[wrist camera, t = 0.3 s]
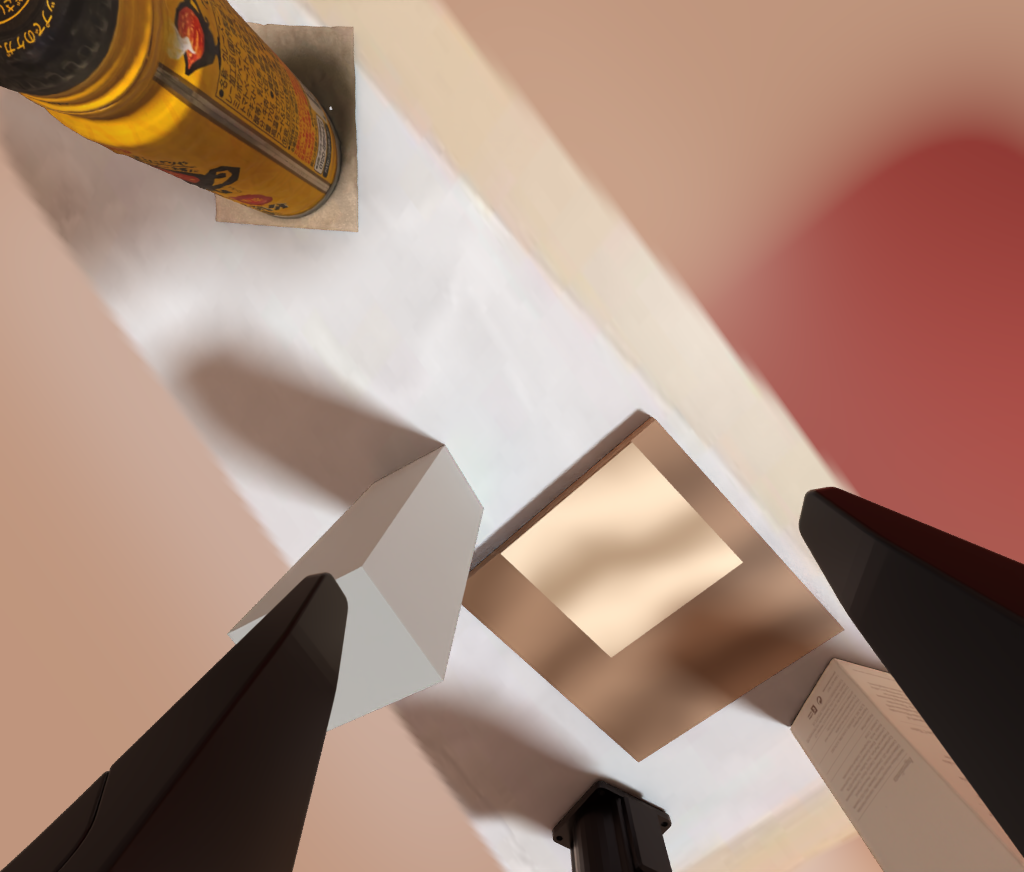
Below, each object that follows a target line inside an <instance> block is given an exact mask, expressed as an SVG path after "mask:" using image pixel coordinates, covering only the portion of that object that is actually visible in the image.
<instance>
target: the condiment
mask: <svg viewBox="0 0 1024 872" xmlns="http://www.w3.org/2000/svg"><path fill="white" fill-rule="evenodd" d="M353 51H354V37H353V27H332V28H330V27H312V26H287V25H274V24H267V25H261V24H257V23H250V22H245V21H244V20H243V18H242V17H241V16H240V15H239V14H238V13H237V12H236V11H235V10H234V9H233V8H232V7H231V5H230V4H229V3H228V1H226V0H0V86H2V87H5V88H7V89H11V90H13V91H16V92H18V93H20V94H22V95H23V96H25V97H26V98H28V99H29V100H31V101H33V102H34V103H36V104H38V105H40V106H42V107H44V108H45V109H46V110H47V111H48V112H49V113H50V114H51V115H52V116H54V117H55V118H56V119H58V120H59V121H60V122H61V123H62V124H64V125H65V126H66V127H68V128H70V129H71V130H73V131H75V132H76V133H78V134H80V135H81V136H83V137H85V138H87V139H89V140H91V141H94V142H97V143H99V144H101V145H103V146H105V147H107V148H108V149H110V150H112V151H113V152H115V153H117V154H123V155H127V156H129V157H132V158H134V159H136V160H138V161H140V162H143V163H146V164H148V165H150V166H152V167H155V168H158V169H160V170H162V171H165V172H167V173H169V174H172V175H174V176H176V177H178V178H181V179H183V180H184V181H186V182H188V183H190V184H193V185H197V186H199V187H200V188H203V189H206V190H208V191H211V192H213V193H215V197H216V211H217V217H216V221H218V222H230V223H240V224H254V225H266V226H278V227H293V228H306V229H321V230H337V231H351V232H358V187H357V142H356V123H355V68H354V53H353ZM330 106H332V110H329V107H330Z"/></svg>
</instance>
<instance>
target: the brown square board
mask: <svg viewBox="0 0 1024 872" xmlns="http://www.w3.org/2000/svg"><path fill="white" fill-rule="evenodd" d="M462 605H463V606H464V607H465V608H466V609H467V610H468V611H469V612H471V613H472V614H473V615H474V616H475V617H476V618H477V619H478V620H480V621H481V622H482V623H483V624H484V625H485V626H486V627H487V628H488V629H490V630H491V631H492V632H493V633H494V634H495V635H496V636H497V637H499V638H500V639H501V640H502V641H503V642H504V643H505V644H506V645H508V646H509V647H510V648H511V649H512V650H513V651H514V652H515V653H517V654H518V655H519V656H520V657H521V658H522V659H523V660H524V661H525V662H527V663H528V664H529V665H530V666H531V667H532V668H533V669H534V670H536V671H537V672H538V673H539V674H540V675H541V676H542V677H543V678H545V679H546V680H547V681H548V682H549V683H550V684H551V685H552V686H553V687H555V688H556V689H557V690H558V691H559V692H560V693H561V694H562V695H564V696H565V697H566V698H567V699H568V700H569V701H570V702H571V703H573V704H574V705H575V706H576V707H577V708H578V709H579V710H580V711H581V712H583V713H584V714H585V715H586V716H587V717H588V718H589V719H590V720H592V721H593V722H594V723H595V724H596V725H597V726H598V727H599V728H601V729H602V730H603V731H604V732H605V733H606V734H607V735H608V736H610V737H611V738H612V739H613V740H614V741H615V742H616V743H617V744H618V745H620V746H621V747H622V748H623V749H624V750H625V751H626V752H627V753H629V754H630V755H631V756H632V757H633V758H634V759H635V760H636V761H638V762H640V761H642V760H643V759H645V758H646V757H648V756H649V755H651V754H652V753H654V752H655V751H657V750H659V749H660V748H662V747H663V746H665V745H666V744H668V743H669V742H671V741H673V740H674V739H676V738H677V737H679V736H680V735H682V734H683V733H685V732H686V731H688V730H690V729H691V728H693V727H694V726H696V725H697V724H699V723H700V722H702V721H704V720H705V719H707V718H708V717H710V716H711V715H713V714H714V713H716V712H718V711H719V710H721V709H722V708H724V707H725V706H727V705H728V704H730V703H731V702H733V701H735V700H736V699H738V698H739V697H741V696H742V695H744V694H745V693H747V692H749V691H750V690H752V689H753V688H755V687H756V686H758V685H759V684H761V683H762V682H764V681H766V680H767V679H769V678H770V677H772V676H773V675H775V674H776V673H778V672H780V671H781V670H783V669H784V668H786V667H787V666H789V665H790V664H792V663H794V662H795V661H797V660H798V659H800V658H801V657H803V656H804V655H806V654H807V653H809V652H811V651H812V650H814V649H815V648H817V647H818V646H820V645H821V644H823V643H825V642H826V641H828V640H829V639H831V638H832V637H834V636H835V635H837V634H838V633H840V632H842V631H843V630H844V629H843V627H842V626H841V625H840V624H839V623H838V622H837V621H836V620H835V619H834V617H833V616H832V615H831V614H830V613H829V612H828V611H827V610H826V609H825V607H824V606H823V605H822V604H821V603H820V602H819V601H818V600H817V599H816V597H815V596H814V595H813V594H812V593H811V592H810V591H809V590H808V589H807V587H806V586H805V585H804V584H803V583H802V582H801V581H800V580H799V579H798V577H797V576H796V575H795V574H794V573H793V572H792V571H791V570H790V568H789V567H788V566H787V565H786V564H785V563H784V562H783V561H782V560H781V558H780V557H779V556H778V555H777V554H776V553H775V552H774V551H773V550H772V548H771V547H770V546H769V545H768V544H767V543H766V542H765V541H764V540H763V538H762V537H761V536H760V535H759V534H758V533H757V532H756V531H755V530H754V528H753V527H752V526H751V525H750V524H749V523H748V522H747V521H746V520H745V518H744V517H743V516H742V515H741V514H740V513H739V512H738V511H737V509H736V508H735V507H734V506H733V505H732V504H731V503H730V502H729V501H728V499H727V498H726V497H725V496H724V495H723V494H722V493H721V492H720V491H719V489H718V488H717V487H716V486H715V485H714V484H713V483H712V482H711V481H710V479H709V478H708V477H707V476H706V475H705V474H704V473H703V472H702V471H701V469H700V468H699V467H698V466H697V465H696V464H695V463H694V462H693V461H692V459H691V458H690V457H689V456H688V455H687V454H686V453H685V452H684V450H683V449H682V448H681V447H680V446H679V445H678V444H677V443H676V442H675V440H674V439H673V438H672V437H671V436H670V435H669V434H668V433H667V432H666V430H665V429H664V428H663V427H662V426H661V425H660V424H659V423H658V422H657V420H656V419H654V418H653V417H650V418H649V419H648V420H647V421H646V422H645V423H643V424H642V425H641V426H640V427H639V428H637V429H636V430H635V431H634V432H633V433H632V434H630V435H629V436H628V437H627V438H626V439H625V440H623V441H622V442H621V443H620V444H619V445H618V446H616V447H615V448H614V449H613V450H612V451H611V452H609V453H608V454H607V455H606V456H605V457H604V458H602V459H601V460H600V461H599V462H598V463H597V464H595V465H594V466H593V467H592V468H591V469H589V470H588V471H587V472H586V473H585V474H584V475H582V476H581V477H580V478H579V479H578V480H577V481H575V482H574V483H573V484H572V485H571V486H570V487H568V488H567V489H566V490H565V491H564V492H563V493H561V494H560V495H559V496H558V497H557V498H556V499H554V500H553V501H552V502H551V503H550V504H549V505H547V506H546V507H545V508H544V509H543V510H541V511H540V512H539V513H538V514H537V515H536V516H534V517H533V518H532V519H531V520H530V521H529V522H527V523H526V524H525V525H524V526H523V527H522V528H520V529H519V530H518V531H517V532H516V533H515V534H513V535H512V536H511V537H510V538H509V539H508V540H506V541H505V542H504V543H503V544H502V545H500V546H499V547H498V548H497V549H496V550H495V551H493V552H492V553H491V554H490V555H489V556H488V557H486V558H485V559H484V560H483V561H482V562H481V563H479V564H478V565H477V566H476V567H475V568H474V569H472V570H471V571H470V572H469V574H468V578H467V582H466V587H465V591H464V595H463V599H462Z"/></svg>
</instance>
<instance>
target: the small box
mask: <svg viewBox="0 0 1024 872" xmlns="http://www.w3.org/2000/svg"><path fill="white" fill-rule="evenodd" d="M790 730H791V732H792V733H793V735H794V736H795V738H796V739H797V741H798V742H799V744H800V746H801V747H802V749H803V750H804V752H805V753H806V755H807V756H808V758H809V759H810V761H811V762H812V764H813V765H814V767H815V768H816V770H817V771H818V773H819V774H820V776H821V777H822V779H823V780H824V782H825V783H826V785H827V786H828V788H829V789H830V791H831V793H832V794H833V796H834V797H835V799H836V800H837V802H838V803H839V805H840V806H841V808H842V809H843V811H844V812H845V814H846V815H847V817H848V818H849V820H850V821H851V823H852V824H853V826H854V827H855V829H856V830H857V832H858V833H859V835H860V836H861V838H862V839H863V841H864V842H865V844H866V845H867V847H868V849H869V850H870V852H871V853H872V855H873V856H874V858H875V859H876V861H877V862H878V864H879V865H880V867H881V869H882V870H883V871H884V872H1024V858H1023V857H1022V855H1021V854H1020V852H1019V851H1018V850H1017V848H1016V847H1015V845H1014V844H1013V843H1012V841H1011V840H1010V839H1009V837H1008V836H1007V834H1006V833H1005V832H1004V830H1003V829H1002V828H1001V826H1000V825H999V823H998V822H997V821H996V819H995V818H994V816H993V815H992V814H991V812H990V811H989V810H988V808H987V807H986V805H985V804H984V803H983V801H982V800H981V798H980V797H979V796H978V794H977V793H976V792H975V790H974V789H973V787H972V786H971V785H970V783H969V782H968V781H967V779H966V778H965V776H964V775H963V774H962V772H961V771H960V769H959V768H958V767H957V765H956V764H955V763H954V761H953V760H952V758H951V757H950V756H949V754H948V753H947V752H946V750H945V749H944V747H943V746H942V745H941V743H940V742H939V740H938V739H937V738H936V736H935V735H934V734H933V732H932V731H931V729H930V728H929V727H928V725H927V724H926V722H925V721H924V720H923V718H922V717H921V716H920V714H919V713H918V711H917V710H916V709H915V707H914V706H913V705H912V703H911V702H910V700H909V699H908V698H907V696H906V695H905V693H904V692H903V691H902V689H901V688H900V687H899V685H898V684H897V682H896V681H895V680H894V678H893V677H892V676H891V674H890V673H886V672H883V671H879V670H875V669H872V668H868V667H864V666H861V665H857V664H853V663H850V662H846V661H843V660H839V659H836V658H833V659H832V660H831V662H830V663H829V665H828V666H827V668H826V669H825V671H824V673H823V674H822V676H821V677H820V679H819V681H818V682H817V684H816V686H815V687H814V689H813V691H812V692H811V694H810V695H809V697H808V699H807V700H806V702H805V704H804V705H803V707H802V709H801V710H800V712H799V714H798V716H797V717H796V719H795V721H794V723H793V724H792V726H791V728H790Z"/></svg>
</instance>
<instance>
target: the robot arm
mask: <svg viewBox="0 0 1024 872" xmlns="http://www.w3.org/2000/svg"><path fill="white" fill-rule="evenodd" d="M799 530H800V533H801V536H802V538H803V539H804V541H805V543H806V545H807V546H808V548H809V550H810V551H811V553H812V555H813V557H814V558H815V560H816V562H817V563H818V565H819V567H820V569H821V570H822V572H823V574H824V575H825V577H826V579H827V581H828V582H829V584H830V586H831V587H832V589H833V591H834V593H835V594H836V596H837V598H838V600H839V601H840V603H841V604H842V606H843V608H844V609H845V611H846V612H847V614H848V616H849V617H850V618H851V620H852V621H853V623H854V624H855V626H856V627H857V629H858V630H859V631H860V633H861V634H862V635H863V637H864V638H865V640H866V641H867V642H868V644H869V645H870V646H871V648H872V649H873V651H874V652H875V653H876V655H877V656H878V658H879V659H880V660H881V662H882V663H883V664H884V666H885V667H886V669H887V670H888V671H889V673H890V674H891V676H892V677H893V678H894V680H895V681H896V682H897V684H898V685H899V687H900V688H901V689H902V691H903V692H904V693H905V695H906V696H907V698H908V699H909V700H910V702H911V703H912V705H913V706H914V707H915V709H916V710H917V711H918V713H919V714H920V716H921V717H922V718H923V720H924V721H925V722H926V724H927V725H928V727H929V728H930V729H931V731H932V732H933V734H934V735H935V736H936V738H937V739H938V740H939V742H940V743H941V745H942V746H943V747H944V749H945V750H946V752H947V753H948V754H949V756H950V757H951V758H952V760H953V761H954V763H955V764H956V765H957V767H958V768H959V769H960V771H961V772H962V774H963V775H964V776H965V778H966V779H967V781H968V782H969V783H970V785H971V786H972V787H973V789H974V790H975V792H976V793H977V794H978V796H979V797H980V798H981V800H982V801H983V803H984V804H985V805H986V807H987V808H988V810H989V811H990V812H991V814H992V815H993V816H994V818H995V819H996V821H997V822H998V823H999V825H1000V826H1001V828H1002V829H1003V830H1004V832H1005V833H1006V834H1007V836H1008V837H1009V839H1010V840H1011V841H1012V843H1013V844H1014V845H1015V847H1016V848H1017V850H1018V851H1019V852H1020V854H1021V855H1022V857H1023V858H1024V564H1022V563H1019V562H1017V561H1015V560H1012V559H1009V558H1007V557H1005V556H1002V555H1000V554H997V553H995V552H992V551H990V550H988V549H985V548H983V547H980V546H978V545H976V544H973V543H971V542H968V541H966V540H963V539H961V538H958V537H956V536H954V535H951V534H949V533H946V532H944V531H941V530H939V529H936V528H934V527H932V526H929V525H927V524H924V523H921V522H919V521H917V520H914V519H912V518H910V517H907V516H905V515H902V514H900V513H897V512H895V511H892V510H890V509H888V508H885V507H883V506H880V505H878V504H876V503H873V502H871V501H868V500H866V499H863V498H861V497H858V496H856V495H854V494H851V493H849V492H846V491H844V490H841V489H839V488H836V487H825V488H819V489H813V490H810V491H808V492H807V493H806V494H805V497H804V502H803V506H802V511H801V515H800V519H799ZM347 614H348V601H347V598H346V596H345V594H344V593H343V591H342V590H341V588H340V586H339V585H338V583H337V582H336V580H335V579H334V577H333V576H332V574H330V573H328V572H323V573H317V574H311V575H308V576H306V577H305V578H304V579H303V580H302V581H300V582H299V583H298V584H297V585H296V586H295V587H294V588H293V589H292V590H291V591H290V592H289V593H288V594H287V595H286V596H285V597H284V598H283V599H282V600H281V601H280V602H279V603H278V604H277V605H276V606H275V607H274V608H273V609H272V610H271V611H270V612H269V613H268V614H267V615H266V616H265V617H264V618H263V619H262V620H261V621H259V622H258V623H257V624H256V625H255V626H254V627H253V628H252V629H251V630H250V631H249V632H248V633H247V634H246V635H245V636H244V637H243V638H242V639H241V640H240V641H239V642H238V643H237V644H236V645H235V646H234V647H233V648H232V649H231V650H230V651H229V652H228V653H227V654H226V655H225V656H224V657H223V658H222V659H221V660H220V661H219V662H217V663H216V664H215V665H214V666H213V668H211V669H210V670H209V671H208V672H207V673H206V674H205V675H204V676H203V677H202V678H201V679H200V680H199V681H198V682H197V683H196V684H195V685H194V686H193V687H192V688H191V689H190V690H189V691H188V692H187V693H186V694H185V695H184V696H183V697H182V698H181V699H180V700H178V701H177V702H176V703H175V704H174V705H173V706H172V707H171V708H170V709H169V710H168V711H167V712H166V713H165V714H164V715H163V716H162V717H161V718H160V719H159V720H158V721H157V722H156V723H155V724H154V725H153V726H152V727H151V728H150V729H149V730H148V731H147V732H146V733H145V734H144V735H143V736H142V737H141V738H139V739H138V741H136V742H135V743H134V744H133V746H131V747H130V748H129V749H128V750H127V751H126V752H125V753H124V754H123V755H122V756H121V757H120V758H119V759H118V760H117V761H116V762H115V763H114V764H113V765H112V766H111V768H110V771H107V772H105V773H104V774H102V776H100V777H99V778H98V779H97V780H96V781H95V782H94V783H93V784H92V785H91V786H90V787H89V788H88V789H87V790H86V791H85V792H84V793H83V794H82V795H81V796H80V797H79V798H78V799H77V800H76V801H75V802H74V803H73V804H72V805H71V806H70V807H69V808H67V809H66V811H64V812H63V813H62V814H61V815H60V816H59V817H58V818H57V819H56V820H55V821H54V822H53V823H52V824H51V825H50V826H49V827H47V829H45V830H44V832H42V833H41V834H40V835H39V836H38V837H37V838H36V839H35V840H34V841H33V842H32V843H31V844H30V845H29V846H27V847H26V848H25V849H24V850H23V851H22V852H21V853H20V854H19V855H18V856H17V857H15V858H14V859H13V860H12V861H11V862H10V863H9V864H8V865H7V866H6V867H5V868H3V870H1V871H0V872H292V870H293V867H294V862H295V858H296V854H297V850H298V846H299V841H300V838H301V834H302V830H303V826H304V821H305V817H306V813H307V809H308V805H309V801H310V797H311V793H312V789H313V785H314V781H315V776H316V772H317V768H318V764H319V760H320V756H321V752H322V747H323V744H324V739H325V735H326V731H327V727H328V723H329V719H330V715H331V711H332V707H333V703H334V698H335V694H336V689H337V683H338V677H339V671H340V664H341V657H342V650H343V642H344V635H345V628H346V621H347ZM670 826H671V820H670V817H669V815H668V814H666V813H664V812H662V811H660V810H658V809H656V808H654V807H652V806H650V805H648V804H646V803H644V802H642V801H640V800H638V799H637V798H635V797H633V796H631V795H629V794H627V793H625V792H623V791H621V790H619V789H617V788H615V787H613V786H611V785H609V784H607V783H605V782H596V783H595V784H594V785H593V786H592V787H591V788H590V789H589V790H588V792H587V793H586V794H585V795H584V796H583V797H582V798H581V799H580V800H579V802H578V803H577V804H576V805H575V806H574V807H573V808H572V809H571V810H570V812H569V813H568V814H567V815H566V816H565V817H564V818H563V819H562V820H561V821H560V823H559V824H558V825H557V826H556V827H555V828H554V829H553V831H552V833H553V840H554V841H555V842H556V843H558V844H560V845H562V846H564V847H567V848H569V849H570V851H571V863H572V872H672V869H671V866H670V862H669V858H668V854H667V850H666V847H665V843H664V839H663V834H664V833H665V832H666V831H667V830H668V829H669V828H670Z"/></svg>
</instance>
